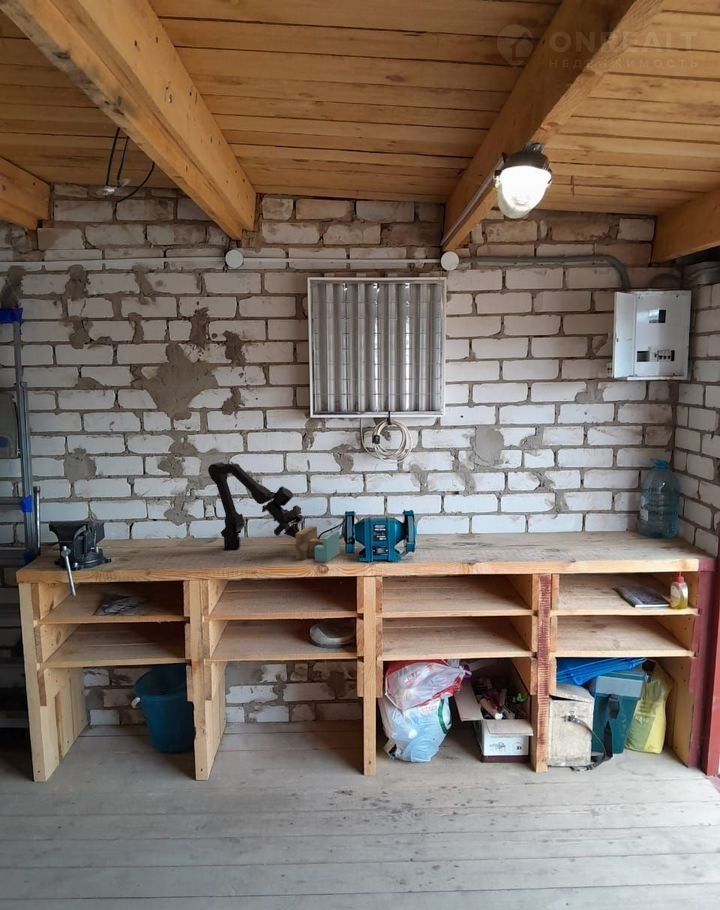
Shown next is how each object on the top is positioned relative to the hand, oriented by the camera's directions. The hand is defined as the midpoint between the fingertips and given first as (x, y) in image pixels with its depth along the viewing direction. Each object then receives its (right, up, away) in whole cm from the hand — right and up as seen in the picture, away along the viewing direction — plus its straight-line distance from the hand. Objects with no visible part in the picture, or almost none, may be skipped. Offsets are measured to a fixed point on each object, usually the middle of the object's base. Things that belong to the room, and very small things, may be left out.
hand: (301, 539), depth 273 cm
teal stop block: (+11, -7, -3) cm, 14 cm away
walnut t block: (+6, -7, -1) cm, 9 cm away
